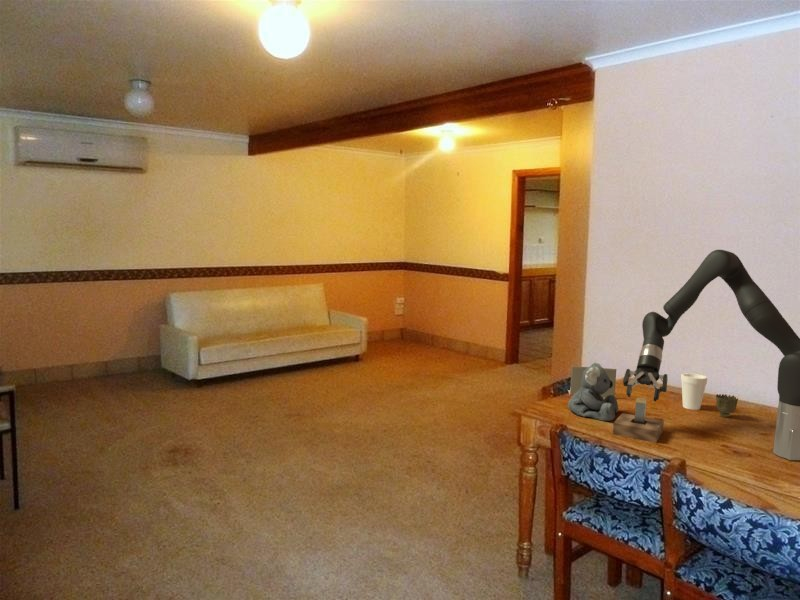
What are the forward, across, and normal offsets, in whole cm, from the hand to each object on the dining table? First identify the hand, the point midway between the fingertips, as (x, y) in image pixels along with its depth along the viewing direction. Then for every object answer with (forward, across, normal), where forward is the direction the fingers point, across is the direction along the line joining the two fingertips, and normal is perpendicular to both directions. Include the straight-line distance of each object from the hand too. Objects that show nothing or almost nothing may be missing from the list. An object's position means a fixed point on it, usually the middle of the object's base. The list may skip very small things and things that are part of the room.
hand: (641, 397), depth 214 cm
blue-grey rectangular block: (+9, 0, +8) cm, 12 cm away
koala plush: (0, -19, +17) cm, 26 cm away
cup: (-20, +24, +37) cm, 49 cm away
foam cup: (-24, +12, +41) cm, 49 cm away
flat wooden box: (+10, 0, +8) cm, 12 cm away
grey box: (-21, -27, +38) cm, 51 cm away
